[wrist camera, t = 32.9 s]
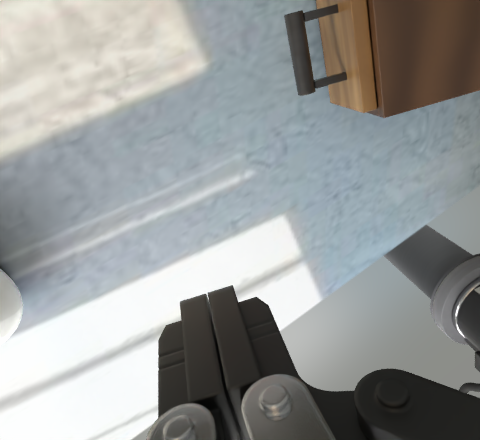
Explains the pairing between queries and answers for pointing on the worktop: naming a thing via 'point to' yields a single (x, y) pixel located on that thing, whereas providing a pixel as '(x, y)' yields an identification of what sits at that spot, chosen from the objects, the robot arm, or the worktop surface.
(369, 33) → the drawer
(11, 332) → the flower vase
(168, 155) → the worktop surface
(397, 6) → the cabinet
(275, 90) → the worktop surface
